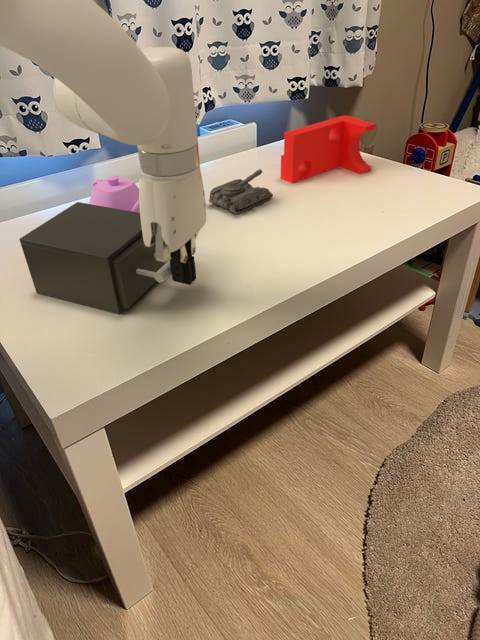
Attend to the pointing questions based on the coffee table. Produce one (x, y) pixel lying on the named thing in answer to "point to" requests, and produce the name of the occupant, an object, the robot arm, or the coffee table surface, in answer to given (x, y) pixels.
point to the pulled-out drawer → (137, 271)
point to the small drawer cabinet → (80, 254)
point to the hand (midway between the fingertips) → (184, 280)
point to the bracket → (324, 148)
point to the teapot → (116, 194)
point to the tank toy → (239, 194)
